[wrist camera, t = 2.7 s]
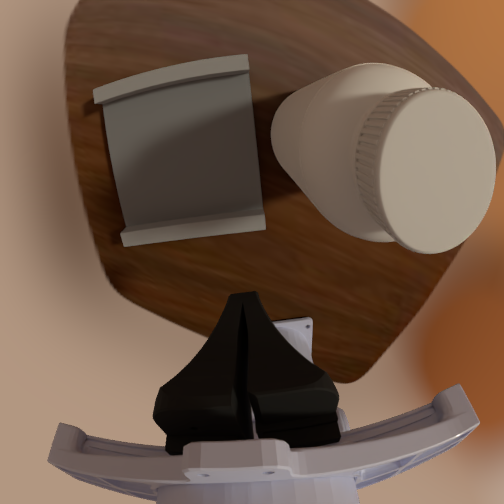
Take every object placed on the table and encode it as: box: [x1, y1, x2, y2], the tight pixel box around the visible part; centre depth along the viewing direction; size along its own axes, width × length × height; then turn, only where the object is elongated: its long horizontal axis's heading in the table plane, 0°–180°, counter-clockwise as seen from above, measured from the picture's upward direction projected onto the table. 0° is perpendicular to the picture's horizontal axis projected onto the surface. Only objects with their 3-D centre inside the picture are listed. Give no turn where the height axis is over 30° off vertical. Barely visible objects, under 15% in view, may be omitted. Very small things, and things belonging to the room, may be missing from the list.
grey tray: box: [93, 54, 266, 247], centre depth 19 cm, size 13×12×2 cm
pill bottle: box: [271, 63, 496, 254], centre depth 13 cm, size 8×8×15 cm
